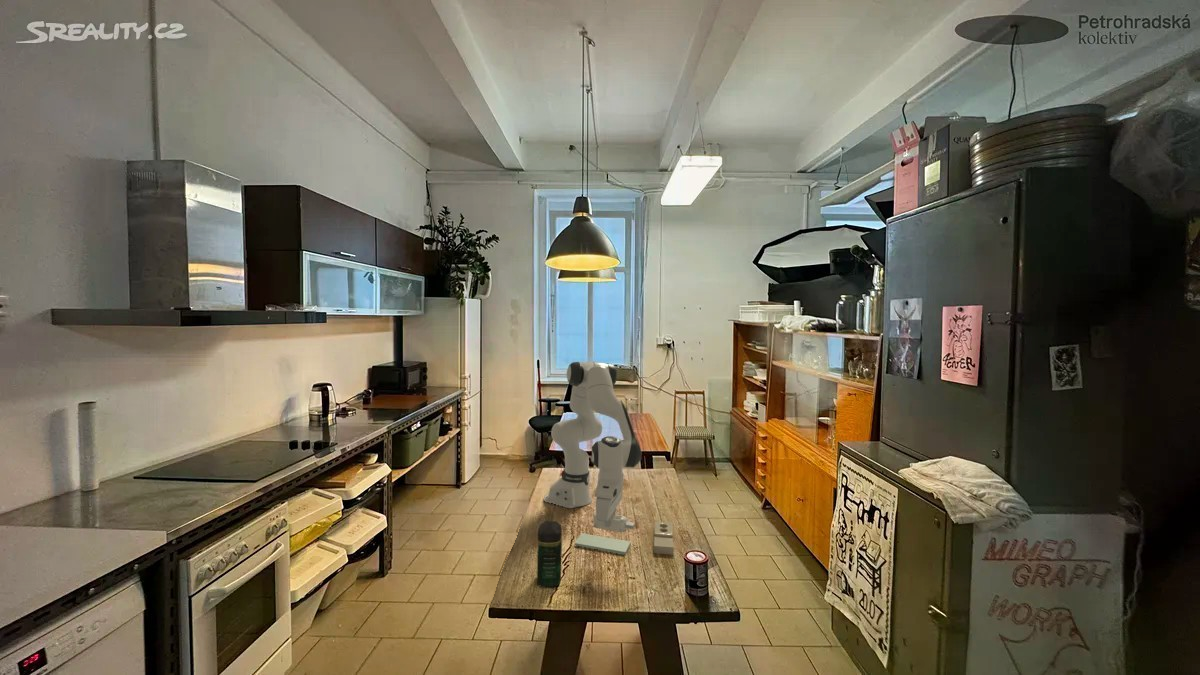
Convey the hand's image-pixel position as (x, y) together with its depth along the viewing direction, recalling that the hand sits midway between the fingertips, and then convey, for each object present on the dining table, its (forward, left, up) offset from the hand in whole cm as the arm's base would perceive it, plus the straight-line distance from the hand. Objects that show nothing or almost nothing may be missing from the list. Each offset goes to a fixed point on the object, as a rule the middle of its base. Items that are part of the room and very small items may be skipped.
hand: (609, 522), depth 157 cm
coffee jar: (-16, -16, -15) cm, 27 cm away
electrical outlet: (+16, +21, -15) cm, 31 cm away
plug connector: (+1, 0, -2) cm, 2 cm away
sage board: (-6, +11, -15) cm, 19 cm away
